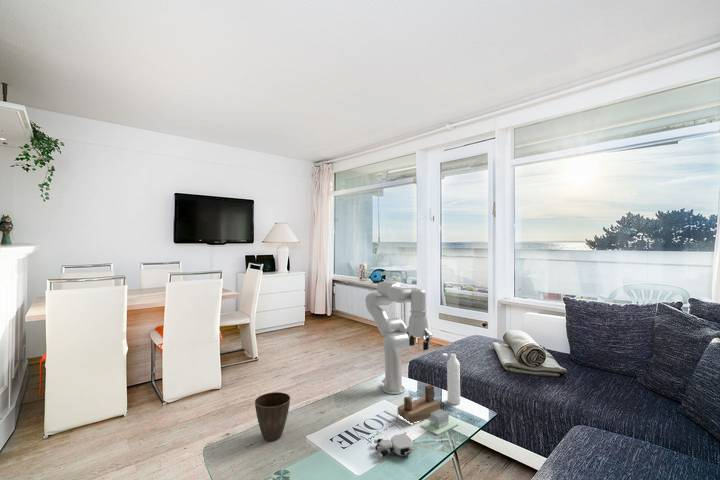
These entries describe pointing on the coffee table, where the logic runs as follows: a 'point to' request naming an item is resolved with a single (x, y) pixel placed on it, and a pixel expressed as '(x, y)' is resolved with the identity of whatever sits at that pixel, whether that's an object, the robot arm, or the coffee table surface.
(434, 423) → the grey rectangular block
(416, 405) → the plane body
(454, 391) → the water bottle
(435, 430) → the mat
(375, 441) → the toy panda
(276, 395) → the plant pot
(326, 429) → the coffee table surface
